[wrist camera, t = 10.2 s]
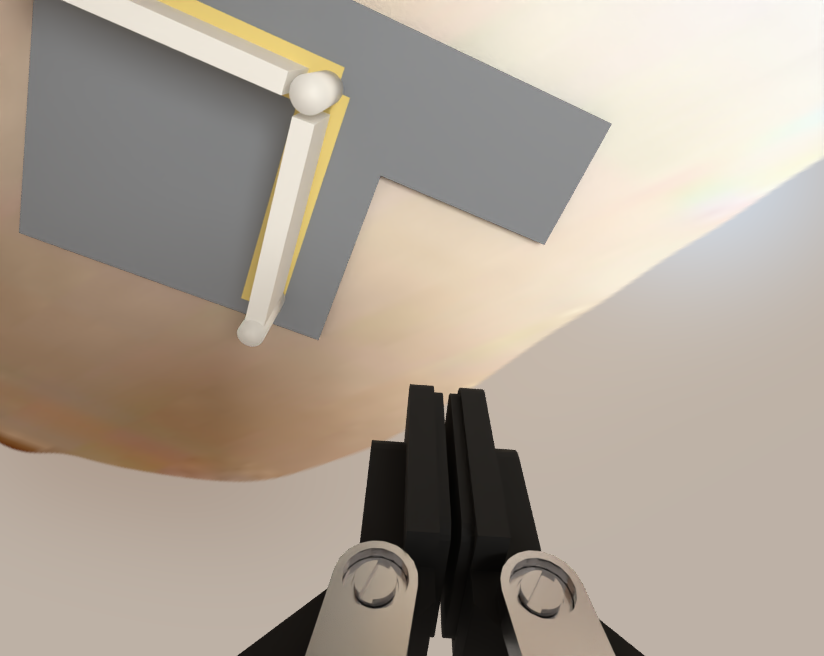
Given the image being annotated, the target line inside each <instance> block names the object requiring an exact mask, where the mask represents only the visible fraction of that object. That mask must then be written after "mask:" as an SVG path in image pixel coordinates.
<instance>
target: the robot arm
mask: <svg viewBox="0 0 824 656" xmlns="http://www.w3.org/2000/svg"><path fill="white" fill-rule="evenodd" d="M440 604H441V628H442V637H443V638H452V652H453V656H644V655H643V654H642V653H641V652H639V651H638V650H637V649H635V648H634V647H633V646H632V645H631V644H629V643H628V642H627V641H625V640H624V639H623V638H622V637H620V636H619V635H618V634H617V633H616V632H614V631H613V630H612V629H611V628H609V627H608V626H607V625H605V624H604V623H603V622H602V621H601V620H599V618H598V616H597V614H596V612H595V610H594V607H593V605H592V603H591V601H590V599H589V597H588V595H587V592H586V590H585V588H584V586H583V583H582V582H581V580H580V579H579V577H578V576H577V574H576V572H575V571H574V570H573V569H571V568H570V567H569V566H568V565H567V564H566V563H565V562H564V561H562V560H560V559H559V558H557V557H555V556H554V555H551V554H547V553H545V552H542V551H541V548H540V544H539V540H538V535H537V531H536V527H535V523H534V519H533V515H532V510H531V506H530V502H529V498H528V493H527V489H526V485H525V481H524V477H523V472H522V468H521V464H520V460H519V456H518V453H517V452H516V450H507V449H495V446H494V441H493V436H492V430H491V425H490V419H489V414H488V408H487V403H486V397H485V392H484V390H482V389H469V388H459V390H458V394H449V399H448V406H447V413H446V420H445V419H444V404H443V393H436V392H434V386H427V385H413V384H410V387H409V397H408V407H407V418H406V429H405V439H404V442H391V441H377V440H372V444H371V452H370V461H369V470H368V479H367V487H366V495H365V504H364V512H363V521H362V530H361V538H360V543H359V544H357V545H356V546H353V547H352V548H350V549H348V550H347V551H346V552H345V553H344V554H343V555H342V556H341V557H340V558H339V560H338V562H337V564H336V566H335V568H334V570H333V573H332V576H331V579H330V582H329V586H328V588H327V589H326V590H325V591H323V592H322V593H321V594H319V595H318V596H317V597H315V598H314V599H313V600H311V601H310V602H309V603H307V604H306V605H305V606H303V607H302V608H301V609H299V610H298V611H296V612H295V613H294V614H293V615H291V616H290V617H288V618H287V619H286V620H284V621H283V622H282V623H280V624H279V625H278V626H276V627H275V628H274V629H272V630H271V631H270V632H268V633H267V634H266V635H264V636H263V637H262V638H261V639H259V640H258V641H256V642H255V643H254V644H252V645H251V646H250V647H248V648H247V649H246V650H244V651H243V652H242V653H240V654H239V655H238V656H427V651H428V645H429V639H430V637H434V635H435V629H436V623H437V618H438V611H439V606H440Z"/></svg>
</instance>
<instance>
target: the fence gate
mask: <svg viewBox="0 0 824 656" xmlns="http://www.w3.org/2000/svg"><path fill="white" fill-rule="evenodd" d="M329 118H330V114H328V113H325V112H323V111H322V112H320V113H318V114H316V115H311V116H310V115H304V114H302V113H298V114H296V115H294V116H292V119H291V123H290V128H289V132H288V136H287V141H286V145H285V149H284V154H283V158H282V162H281V167H280V171H279V175H278V180H277V184H276V188H275V192H274V197H273V201H272V205H271V210H270V214H269V218H268V223H267V227H266V231H265V236H264V240H263V244H262V249H261V253H260V257H259V262H258V266H257V270H256V275H255V279H254V283H253V287H252V292H251V296H250V300H249V305H248V309H247V313H246V317H245V319H244V320H243V322H242V323H241V325H240V326H239V328H238V330H237V336H238V338H239V340H240V341H241V342H242V343H243V344H245V345H247V346H251V347H254V346H258V345H260V344H261V343H262V342H263V340H264V338H265V336H266V335H267V333H268V331H269V329H270V327H271V326H272V324H273V322H274V320H275V318H276V317H277V315H278V313H279V311H280V309H281V307H282V306H283V304H284V302H285V295H284V293H283V292H284V289H285V285H286V281H287V277H288V273H289V270H290V266H291V262H292V258H293V254H294V251H295V247H296V243H297V239H298V235H299V232H300V228H301V224H302V220H303V216H304V213H305V209H306V205H307V201H308V197H309V194H310V190H311V186H312V182H313V178H314V175H315V171H316V167H317V163H318V159H319V156H320V152H321V148H322V144H323V140H324V137H325V133H326V129H327V125H328V121H329Z"/></svg>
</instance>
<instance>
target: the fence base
mask: <svg viewBox="0 0 824 656" xmlns="http://www.w3.org/2000/svg"><path fill="white" fill-rule="evenodd" d="M322 111H323V112H325V113H328V114H330V118H329V121H328V125H327V129H326V133H325V137H324V140H323V144H322V148H321V152H320V156H319V159H318V163H317V167H316V171H315V175H314V178H313V182H312V186H311V190H310V194H309V197H308V201H307V205H306V209H305V213H304V216H303V220H302V224H301V228H300V232H299V235H298V239H297V243H296V247H295V251H294V254H293V258H292V262H291V266H290V270H289V273H288V277H287V281H286V285H285V289H284V292H283V293H284V295H285V302H284V304H283V306H282V307H281V309H280V311H279V313H278V315H277V317H276V318H275V320H274V322H273V324H275V325H278V326H280V327H283V328H286V329H289V330H292V331H294V332H297V333H300V334H303V335H306V336H308V337H311V338H314V339H317V340H319V337H320V335H321V332H322V329H323V327H324V324H325V321H326V319H327V316H328V313H329V311H330V308H331V306H332V303H333V300H334V298H335V295H336V292H337V290H338V287H339V284H340V282H341V279H342V277H343V274H344V271H345V269H346V266H347V263H348V261H349V258H350V255H351V253H352V250H353V247H354V245H355V242H356V240H357V237H358V234H359V232H360V229H361V226H362V224H363V221H364V218H365V216H366V213H367V211H368V208H369V205H370V203H371V200H372V197H373V195H374V192H375V189H376V187H377V184H378V181H379V179H380V176H382V177H385V178H387V179H390V180H392V181H394V182H397V183H399V184H401V185H404V186H406V187H409V188H411V189H413V190H416V191H418V192H420V193H423V194H425V195H428V196H430V197H432V198H435V199H437V200H439V201H442V202H444V203H446V204H449V205H451V206H454V207H456V208H458V209H461V210H463V211H465V212H468V213H470V214H473V215H475V216H477V217H480V218H482V219H484V220H487V221H489V222H492V223H494V224H496V225H499V226H501V227H503V228H506V229H508V230H510V231H513V232H515V233H518V234H520V235H522V236H525V237H527V238H529V239H532V240H534V241H537V242H539V243H541V244H544V245H545V243H546V241H547V239H548V237H549V236H550V234H551V232H552V230H553V228H554V227H555V225H556V223H557V221H558V219H559V218H560V216H561V214H562V212H563V211H564V209H565V207H566V205H567V203H568V202H569V200H570V198H571V196H572V194H573V193H574V191H575V189H576V187H577V185H578V184H579V182H580V180H581V178H582V176H583V175H584V173H585V171H586V169H587V167H588V166H589V164H590V162H591V160H592V159H593V157H594V155H595V153H596V151H597V150H598V148H599V146H600V144H601V142H602V141H603V139H604V137H605V135H606V133H607V132H608V130H609V128H610V126H611V123H609V122H607V121H605V120H603V119H600V118H598V117H596V116H594V115H592V114H590V113H588V112H586V111H584V110H582V109H580V108H577V107H575V106H573V105H571V104H569V103H567V102H565V101H563V100H561V99H559V98H556V97H554V96H552V95H550V94H548V93H546V92H544V91H542V90H540V89H538V88H535V87H533V86H531V85H529V84H527V83H525V82H523V81H521V80H519V79H517V78H514V77H512V76H510V75H508V74H506V73H504V72H502V71H500V70H498V69H496V68H493V67H491V66H489V65H487V64H485V63H483V62H481V61H479V60H477V59H475V58H473V57H470V56H468V55H466V54H464V53H462V52H460V51H458V50H456V49H454V48H452V47H449V46H447V45H445V44H443V43H441V42H439V41H437V40H435V39H433V38H431V37H428V36H426V35H424V34H422V33H420V32H418V31H416V30H414V29H412V28H410V27H407V26H405V25H403V24H401V23H399V22H397V21H395V20H393V19H391V18H389V17H387V16H384V15H382V14H380V13H378V12H376V11H374V10H372V9H370V8H368V7H366V6H363V5H361V4H359V3H357V2H355V1H353V0H34V2H33V18H32V34H31V50H30V66H29V82H28V98H27V114H26V131H25V147H24V163H23V179H22V195H21V211H20V227H19V233H21V234H24V235H27V236H29V237H32V238H35V239H38V240H41V241H43V242H46V243H49V244H52V245H55V246H57V247H60V248H63V249H66V250H69V251H71V252H74V253H77V254H80V255H82V256H85V257H88V258H91V259H94V260H96V261H99V262H102V263H105V264H108V265H110V266H113V267H116V268H119V269H122V270H124V271H127V272H130V273H133V274H135V275H138V276H141V277H144V278H147V279H149V280H152V281H155V282H158V283H161V284H163V285H166V286H169V287H172V288H174V289H177V290H180V291H183V292H186V293H188V294H191V295H194V296H197V297H200V298H202V299H205V300H208V301H211V302H214V303H216V304H219V305H222V306H225V307H227V308H230V309H233V310H236V311H239V312H241V313H244V314H246V313H247V309H248V305H249V300H250V296H251V292H252V287H253V283H254V279H255V275H256V270H257V266H258V262H259V257H260V253H261V249H262V244H263V240H264V236H265V231H266V227H267V223H268V218H269V214H270V210H271V205H272V201H273V197H274V192H275V188H276V184H277V180H278V175H279V171H280V167H281V162H282V158H283V154H284V149H285V145H286V141H287V136H288V132H289V128H290V123H291V119H292V116H294V115H296V114H298V113H302V114H304V115H310V116H311V115H316V114H318V113H320V112H322Z"/></svg>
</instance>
